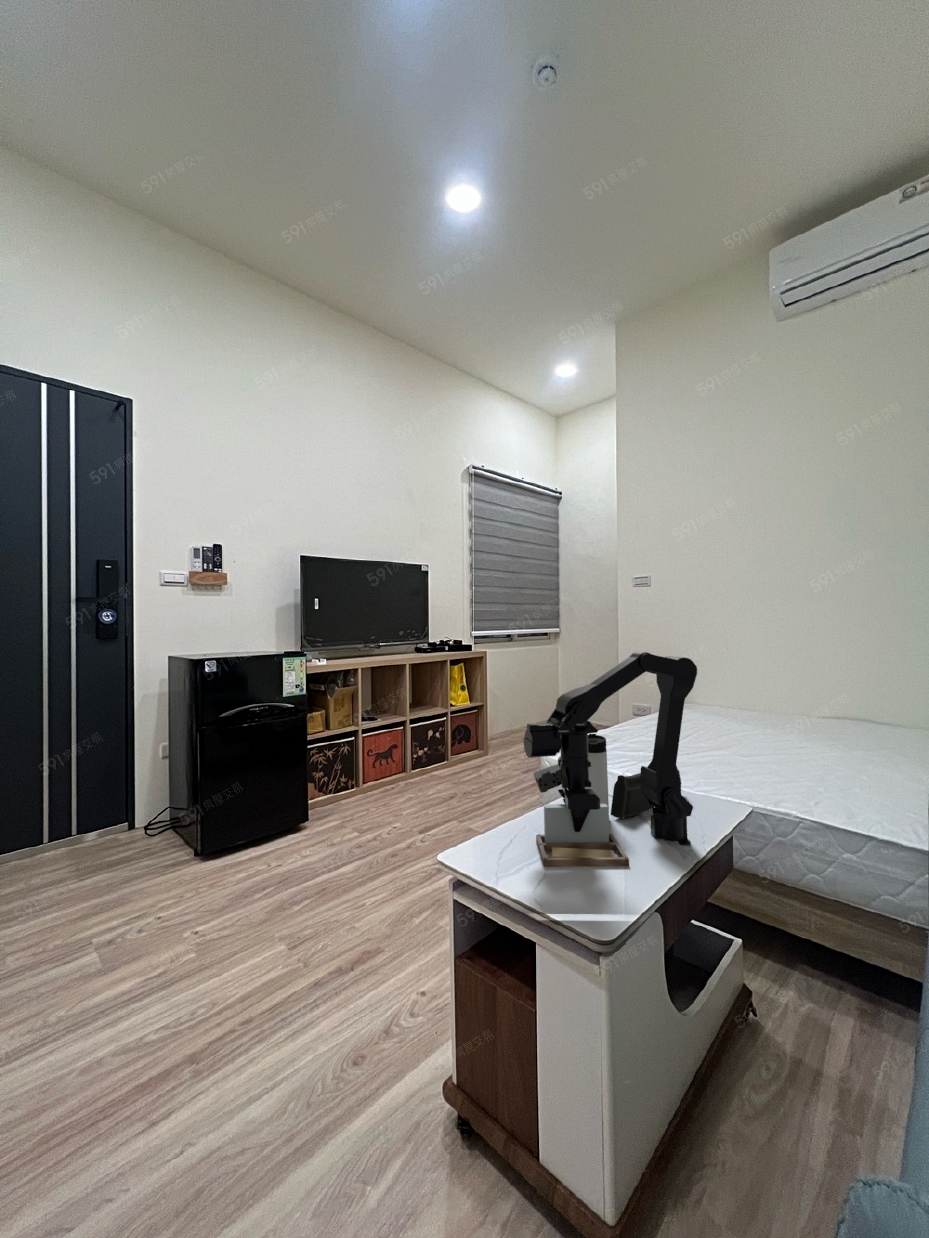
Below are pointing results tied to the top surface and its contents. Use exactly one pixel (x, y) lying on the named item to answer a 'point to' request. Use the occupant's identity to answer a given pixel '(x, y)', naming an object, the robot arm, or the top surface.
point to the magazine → (629, 797)
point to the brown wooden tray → (582, 862)
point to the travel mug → (598, 767)
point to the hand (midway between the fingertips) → (576, 829)
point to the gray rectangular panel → (562, 828)
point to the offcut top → (580, 853)
